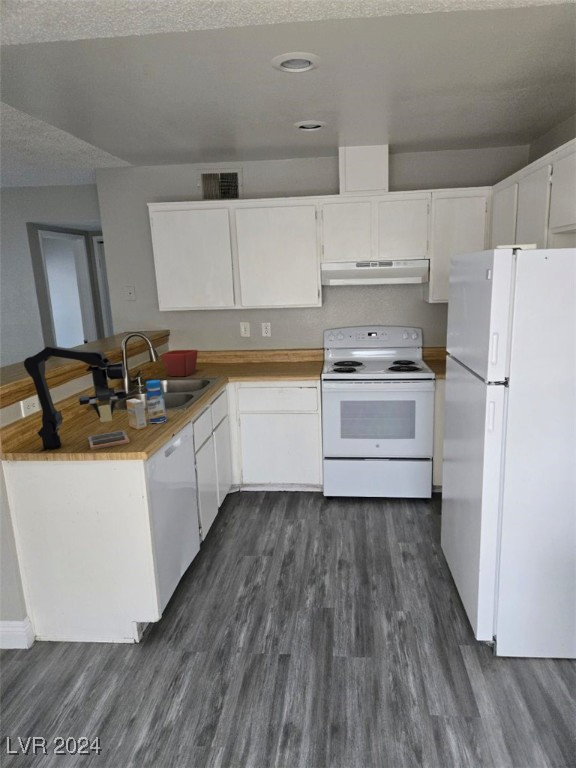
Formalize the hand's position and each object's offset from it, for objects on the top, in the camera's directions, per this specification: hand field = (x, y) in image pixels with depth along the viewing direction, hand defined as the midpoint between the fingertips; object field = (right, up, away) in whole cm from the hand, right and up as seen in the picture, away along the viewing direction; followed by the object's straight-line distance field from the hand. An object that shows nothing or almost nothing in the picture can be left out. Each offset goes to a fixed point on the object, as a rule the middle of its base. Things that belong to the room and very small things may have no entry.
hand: (105, 416), depth 213 cm
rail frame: (-1, -11, +5) cm, 12 cm away
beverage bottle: (+14, -4, +30) cm, 34 cm away
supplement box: (+7, -7, +23) cm, 25 cm away
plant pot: (+2, +20, +146) cm, 148 cm away
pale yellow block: (0, -1, 0) cm, 2 cm away
